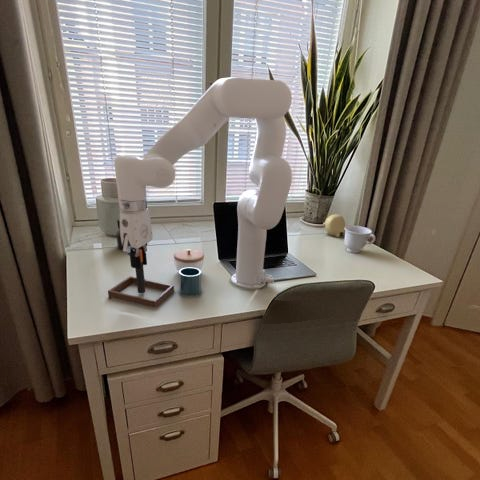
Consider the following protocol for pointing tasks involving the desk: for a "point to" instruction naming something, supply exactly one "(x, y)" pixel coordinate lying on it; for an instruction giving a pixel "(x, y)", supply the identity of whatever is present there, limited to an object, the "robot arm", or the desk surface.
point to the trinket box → (188, 259)
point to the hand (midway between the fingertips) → (139, 265)
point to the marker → (140, 275)
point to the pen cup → (190, 281)
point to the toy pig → (335, 225)
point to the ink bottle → (119, 236)
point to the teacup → (357, 238)
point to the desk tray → (139, 300)
